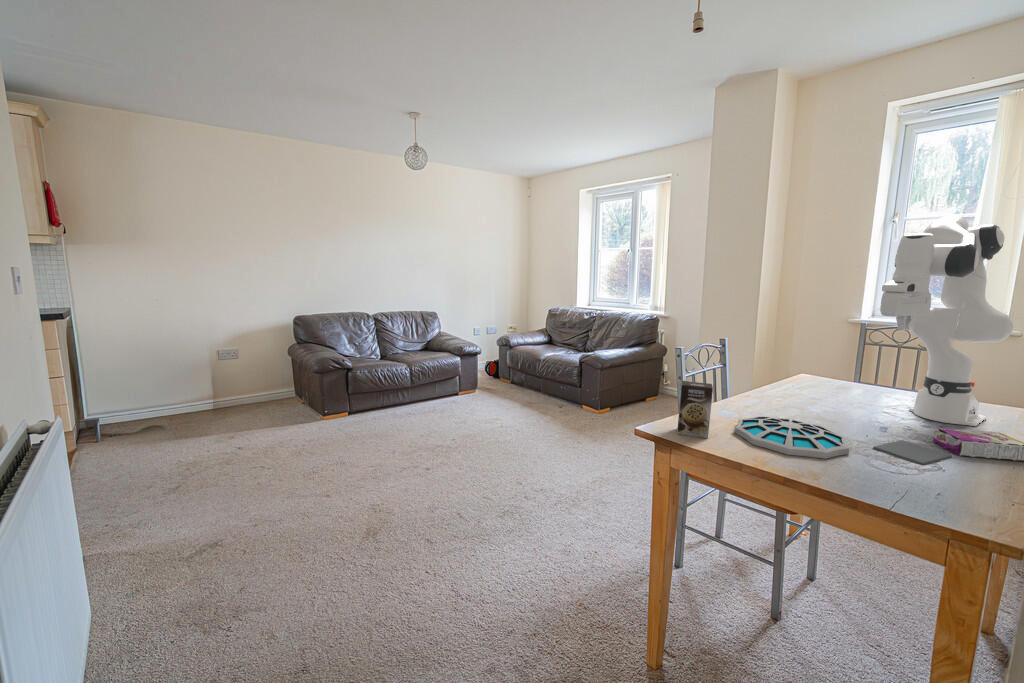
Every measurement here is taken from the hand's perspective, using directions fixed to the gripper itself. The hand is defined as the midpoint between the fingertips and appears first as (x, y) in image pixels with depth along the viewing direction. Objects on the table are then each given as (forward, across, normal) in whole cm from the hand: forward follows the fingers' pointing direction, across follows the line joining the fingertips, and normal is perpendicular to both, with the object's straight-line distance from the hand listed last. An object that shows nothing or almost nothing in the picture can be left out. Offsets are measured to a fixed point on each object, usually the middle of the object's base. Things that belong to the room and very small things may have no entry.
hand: (902, 329), depth 143 cm
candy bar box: (+31, +3, +16) cm, 35 cm away
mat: (+33, +16, +14) cm, 39 cm away
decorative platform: (+34, +39, -6) cm, 52 cm away
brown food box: (+33, +64, -20) cm, 75 cm away
